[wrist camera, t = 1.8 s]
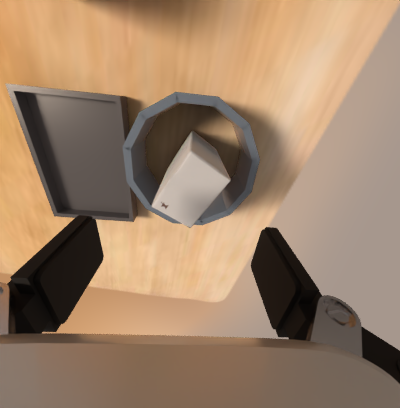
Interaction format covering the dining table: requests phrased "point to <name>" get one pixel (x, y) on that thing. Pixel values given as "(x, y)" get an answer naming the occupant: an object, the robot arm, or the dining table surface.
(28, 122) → the tray
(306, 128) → the dining table surface
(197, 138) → the skincare box
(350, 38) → the dining table surface
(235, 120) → the grey faceted ring
